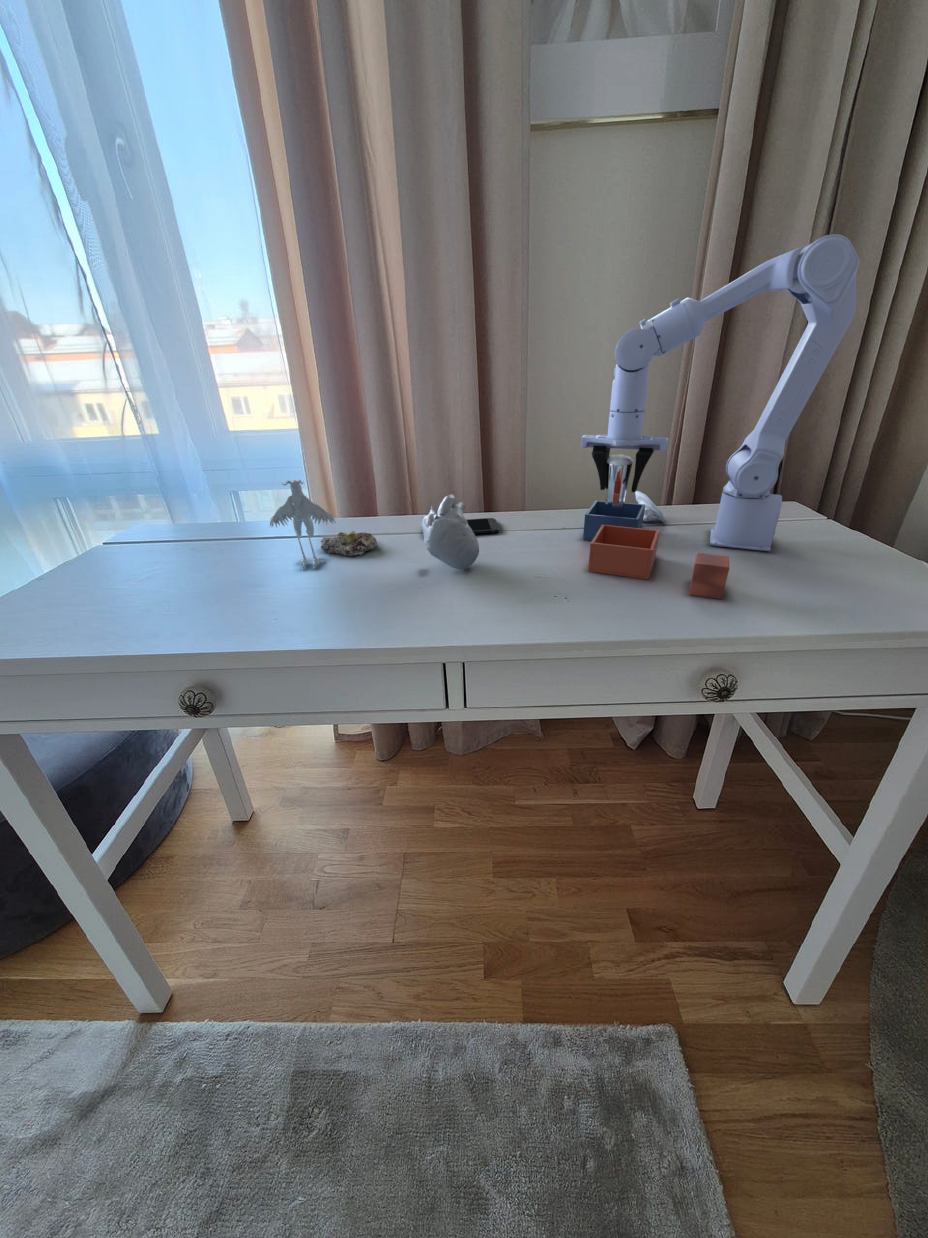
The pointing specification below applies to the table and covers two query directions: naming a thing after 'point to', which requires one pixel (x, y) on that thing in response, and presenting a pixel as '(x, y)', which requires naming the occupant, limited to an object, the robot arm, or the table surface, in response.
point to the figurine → (301, 515)
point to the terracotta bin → (623, 551)
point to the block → (709, 575)
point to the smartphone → (483, 525)
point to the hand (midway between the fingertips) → (618, 489)
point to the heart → (450, 534)
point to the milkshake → (617, 479)
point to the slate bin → (612, 517)
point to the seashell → (648, 507)
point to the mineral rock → (349, 543)
